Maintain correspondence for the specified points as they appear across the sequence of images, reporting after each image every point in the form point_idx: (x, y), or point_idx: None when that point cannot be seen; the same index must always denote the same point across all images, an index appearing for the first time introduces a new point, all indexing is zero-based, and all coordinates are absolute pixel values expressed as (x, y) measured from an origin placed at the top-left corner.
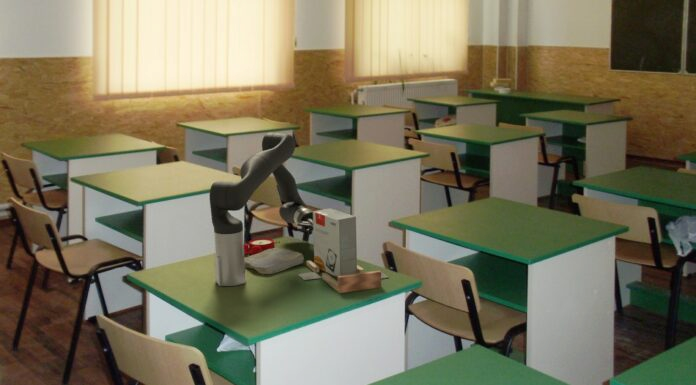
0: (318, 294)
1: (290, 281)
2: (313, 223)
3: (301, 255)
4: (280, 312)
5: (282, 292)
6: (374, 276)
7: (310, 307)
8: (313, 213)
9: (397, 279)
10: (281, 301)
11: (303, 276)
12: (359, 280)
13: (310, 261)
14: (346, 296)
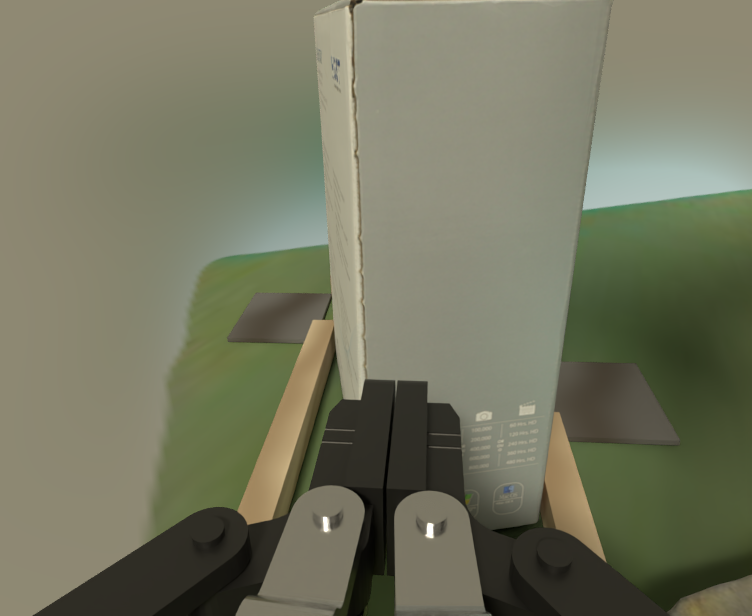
0: (583, 270)
1: (720, 385)
2: (587, 143)
3: (669, 612)
4: (720, 228)
5: (742, 309)
6: None
7: (622, 229)
8: (602, 14)
9: (242, 283)
10: (731, 265)
11: (640, 400)
12: None
13: (570, 533)
14: None
